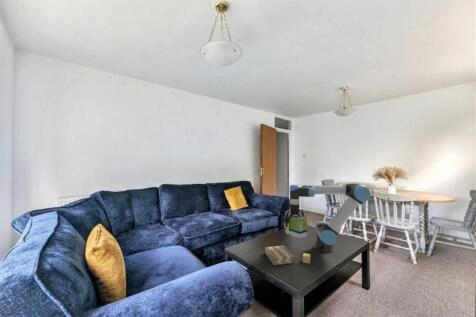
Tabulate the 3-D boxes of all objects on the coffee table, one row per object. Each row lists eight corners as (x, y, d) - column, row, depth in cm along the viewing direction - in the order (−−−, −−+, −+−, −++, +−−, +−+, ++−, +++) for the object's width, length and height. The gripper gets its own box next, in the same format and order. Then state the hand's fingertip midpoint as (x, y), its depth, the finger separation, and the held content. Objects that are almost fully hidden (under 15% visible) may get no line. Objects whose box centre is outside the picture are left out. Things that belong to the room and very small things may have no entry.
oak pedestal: (283, 251, 172) (283, 245, 172) (294, 262, 153) (294, 255, 153) (265, 253, 168) (265, 247, 168) (274, 265, 150) (274, 258, 150)
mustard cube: (310, 260, 156) (310, 254, 156) (309, 263, 151) (309, 257, 152) (303, 259, 158) (303, 252, 158) (302, 262, 153) (302, 255, 153)
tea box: (307, 235, 165) (307, 217, 165) (299, 238, 159) (299, 219, 159) (292, 230, 177) (292, 213, 177) (284, 233, 171) (284, 215, 171)
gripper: (305, 202, 175) (305, 227, 175) (278, 203, 170) (279, 229, 170) (310, 203, 168) (310, 230, 168) (282, 205, 163) (283, 232, 163)
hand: (295, 230), depth 169 cm, fingers closed on tea box, 12 cm apart
